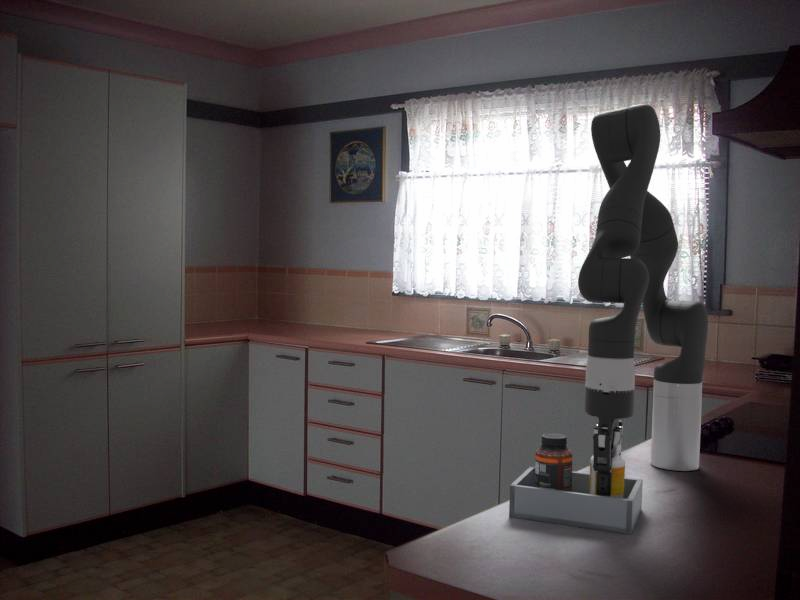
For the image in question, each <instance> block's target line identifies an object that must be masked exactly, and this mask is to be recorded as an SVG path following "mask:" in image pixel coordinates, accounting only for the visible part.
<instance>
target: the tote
mask: <svg viewBox="0 0 800 600" xmlns="http://www.w3.org/2000/svg"><path fill="white" fill-rule="evenodd" d="M589 479H590V472H581V471H573V470H572V492H569V491H561V490H553V489H545V488H537V487H535V466H529V467H528V468H527V469H526V470H525V471H524V472H523V473H522V474H520V475H519V476H518V478H516V479H515V480H514V481H513V482H512V483H511V484H510V485H509V504H508V505H509V511H508V517H509V518H515V519H522V520H528V521H529V520H530V521H535V522H541V523H542V522H543V523H549V524H550V523H551V524H556V525H563V526H564V525H565V526H570V527H576V528H577V527H579V528H584V529H590V530H591V529H592V530H597V531H598V530H599V531H604V532H611V533H619V534H626V535H632V534H633V531H634V528H635V526H636V524H637V521H638V519H639V517H640V515H641V512H642V509H643V508H642V507H643V506H642V503H643V481H644V480H643V479H639V478H631V477H625V480H624V498H616V497H608V496H600V495H592V494H589Z"/></svg>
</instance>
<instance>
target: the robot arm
mask: <svg viewBox="0 0 800 600" xmlns="http://www.w3.org/2000/svg"><path fill="white" fill-rule="evenodd" d="M659 121H660V120H659V117H658V115H657V112H656V110H655V108H654V107H653V106H651V105H650V104H648V103H641V104H640V103H639V104H634V105H630V106H625V107H621V108H616V109H611V110H610V109H609V110H606V111H603V112H600V113H597V114H595V115H594V116H593V118H592V121H591V125H590V126H591V127H590V131H591V132H590V133H591V139H592V144H593V148H594V150H595V153H596V157H597V159H598V161H599V164H600V166H601V169H602V172H603V174H604V177H605V180H606V182H607V185H608V188H609V190H608V191H607V193H606V194H605V195H604V197H603V199H602V201H601V203H600V205H599V206H600V207H599V209H598V215H597V221H596V222H597V223H596V230H595V237H594V241H593V243H592V245H591V248H590V250H589V252H588V254H587V255H586V257H585V259H584V261H583V262H582V265H581V268H580V270H579V273H578V279H577V284H578V285H577V287H578V290H579V293H580V295H581V297H582V298H583V299H585V301H588V302H591V303H605V304H607V303H609V304H623V308H622V309H621V311H620V312H619V313H617V314H615V315H612V316H607V317H600V318H596V319H593V320H592V321H590V324H589V327H588V349H587V362H586V367H585V383H584V385H585V386H584V387H585V388H584V390H585V391H584V412H585V414H587V415H588V416H590V417H596V418H598V424H596V426H595V427H593V435H592V439H593V446H592V447H593V449H592V450H593V452H592V453H593V455H594V465H593V468H594V471H595V472H597V476H596V495H600V496H608V497H610V495H611V482H612V472H613V460H614V459H616V458H617V449H618V442H619V443H621V444H622V438H623V437H622V436H623V433H624V428H623V421H622V420H623V419H629V418H631V417H633V416H634V413H635V389H636V388H635V387H636V367H635V339H636V329H637V328H636V327H637V322H638V317H639V314H640V311H641V308H643V309H642V310H643V316H644V320H645V325H646V330H647V332H648V336H649V338H650V339H651V340H652V342H654V343H655V344H657V345H661V346H666V347H667V346H669V347H677V348H678V347H679V348H681V349H680V354H679V355H678V356H677V357H676V358H675V359H672V360H670V361H666V362H661V363H659V364H656V365H655V366H654V368H653V369H654V370H653V391H652V394H653V395H652V397H653V398H652V419H651V420H652V422H651V441H650V442H651V444H650V465H652V466H653V467H656V468H659V469H664V470H670V471H679V472H681V471H682V472H689V471H691V472H692V471H696V470H698V469H699V467H700V451H701V450H700V449H701V430H702V429H701V424H702V400H703V397H702V395H703V375H704V369H705V363H706V352H707V351H706V349H707V342H708V341H707V340H708V332H709V331H708V330H709V328H708V327H709V316H708V311H707V308H706V306H705V304H704V303H702V302H701V301H697V300H696V301H694V300H679V299H678V300H677V299H669V298H668V297H667V295H666V292H665V291H666V290H665V286H664V284H665V280H666V277H667V274H668V272H669V271H670V269H671V267H672V264H673V262H674V261H675V258H676V256H677V254H678V248H679V241H678V236H677V232H676V229H675V228H676V227H675V224H674V220H673V217H672V215H671V212H670V210H669V209H668V208H667V207H666V206H665V205H664V204H663V202H661V200H659V199H658V198H657V197H656V196H655V195H653V194H652V193H651V192H650V191H649V190H648V189H649V185H650V183H651V179H652V175H653V173H654V169H655V165H656V161H657V159H658V153H659V149H660V144H661V127H660V122H659ZM627 161H629V163H628V164H627V165H626V162H627ZM620 419H621V420H620ZM621 448H623V447H622V445H621ZM612 449H613V451H612V452H611V450H612ZM621 455H622V452H621V453H620V454H619V456H621ZM601 458H606V459H607V464H604V463H600V459H601Z"/></svg>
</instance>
